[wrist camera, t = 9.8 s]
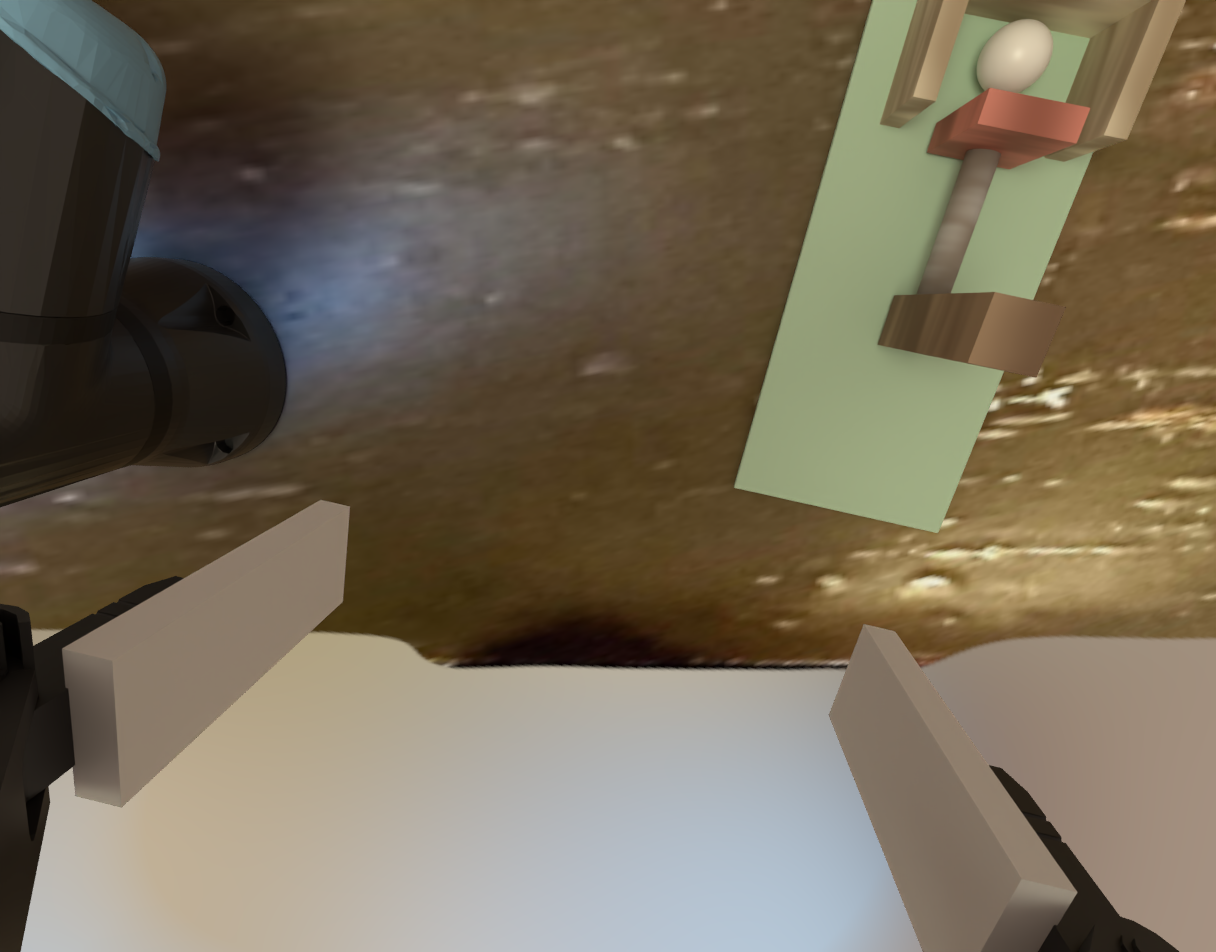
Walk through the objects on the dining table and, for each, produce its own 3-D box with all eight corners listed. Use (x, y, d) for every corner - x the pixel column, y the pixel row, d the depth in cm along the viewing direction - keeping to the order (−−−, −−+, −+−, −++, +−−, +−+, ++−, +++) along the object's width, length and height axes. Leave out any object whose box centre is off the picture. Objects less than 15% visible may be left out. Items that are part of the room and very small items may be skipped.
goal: (879, 124, 35) (913, 96, 31) (923, -21, 33) (967, -75, 28) (1064, 161, 35) (1126, 139, 30) (1121, 18, 33) (1198, -31, 28)
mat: (733, 486, 43) (734, 487, 43) (881, -32, 34) (883, -36, 33) (935, 531, 43) (937, 533, 42) (1142, 20, 33) (1148, 16, 33)
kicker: (864, 342, 39) (948, 358, 27) (936, 123, 35) (1070, 34, 23) (939, 358, 38) (1055, 381, 27) (1020, 140, 35) (1195, 59, 23)
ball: (978, 30, 34) (955, 98, 35) (1013, -1, 30) (986, 76, 31) (1038, 42, 34) (1014, 110, 35) (1080, 13, 30) (1051, 89, 31)
